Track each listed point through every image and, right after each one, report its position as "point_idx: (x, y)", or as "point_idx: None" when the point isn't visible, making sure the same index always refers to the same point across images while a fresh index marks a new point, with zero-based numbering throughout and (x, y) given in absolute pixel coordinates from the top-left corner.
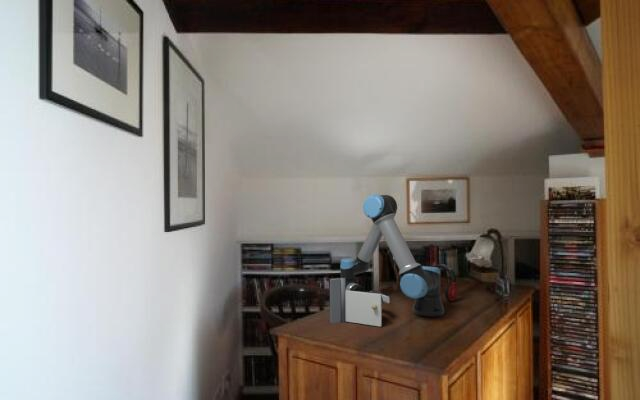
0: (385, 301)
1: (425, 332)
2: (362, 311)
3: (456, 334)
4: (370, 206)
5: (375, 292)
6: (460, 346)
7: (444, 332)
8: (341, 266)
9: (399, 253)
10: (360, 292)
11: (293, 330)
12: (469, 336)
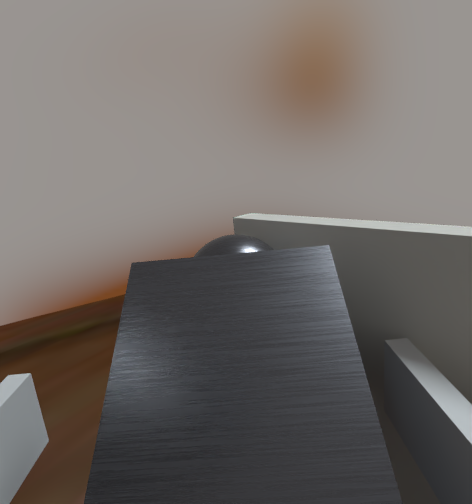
0: (10, 492)
1: (99, 366)
2: None
3: (26, 341)
4: None
5: (249, 239)
6: (124, 297)
7: (35, 357)
8: None
9: None
10: (469, 227)
11: None
12: (16, 328)
